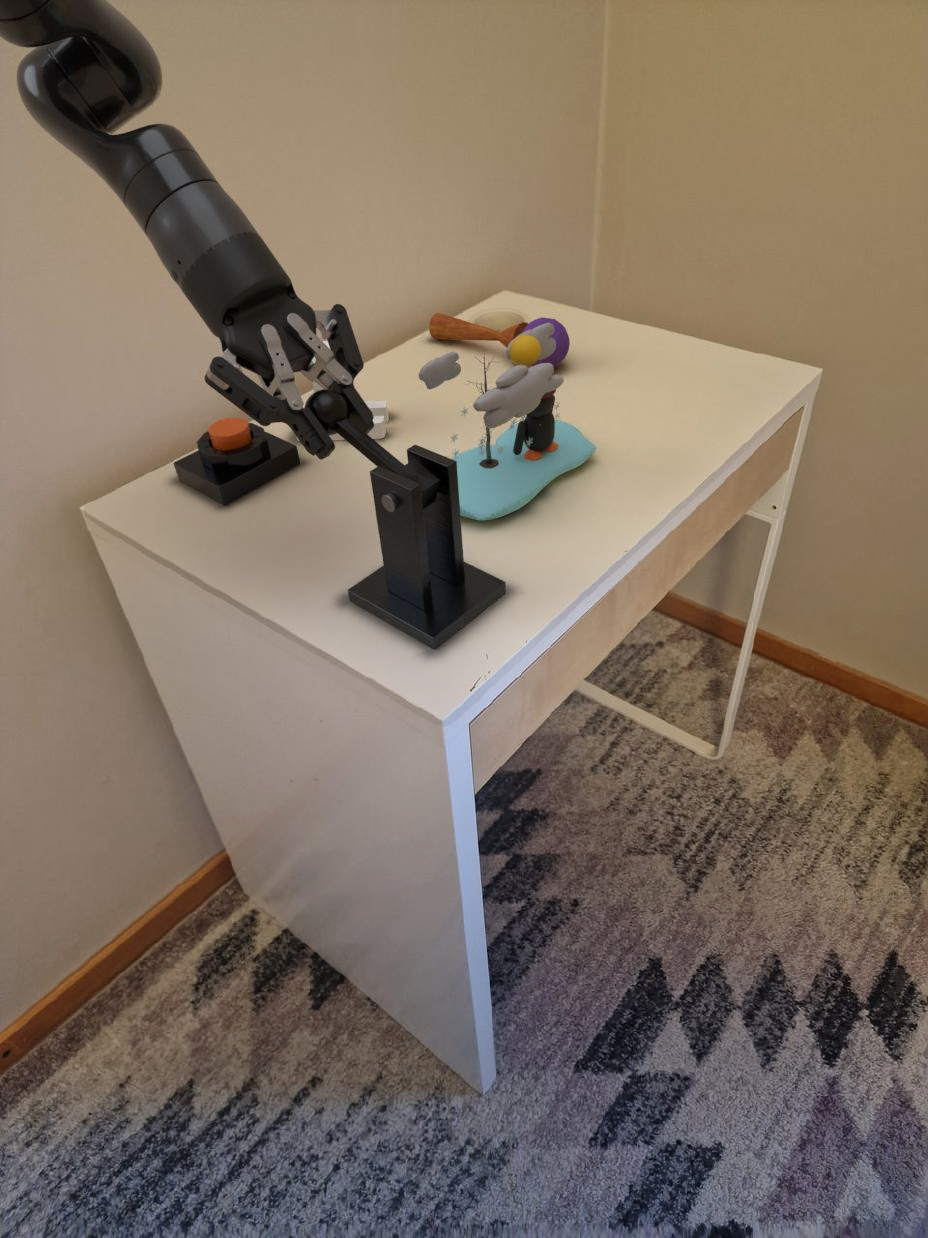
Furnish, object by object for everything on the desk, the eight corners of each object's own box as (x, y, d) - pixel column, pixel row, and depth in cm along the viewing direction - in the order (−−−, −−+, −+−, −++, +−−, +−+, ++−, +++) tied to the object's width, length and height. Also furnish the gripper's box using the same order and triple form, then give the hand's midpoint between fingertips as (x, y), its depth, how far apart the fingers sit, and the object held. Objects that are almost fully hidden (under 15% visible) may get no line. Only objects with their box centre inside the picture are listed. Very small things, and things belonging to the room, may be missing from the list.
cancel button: (228, 455, 86) (224, 440, 84) (204, 444, 88) (200, 428, 87) (259, 439, 88) (256, 424, 87) (235, 428, 90) (232, 413, 89)
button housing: (224, 506, 85) (214, 471, 83) (178, 480, 90) (167, 447, 87) (300, 463, 91) (293, 430, 88) (254, 441, 95) (246, 409, 92)
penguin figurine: (538, 424, 94) (538, 285, 84) (616, 456, 88) (625, 311, 78) (403, 501, 84) (385, 354, 74) (481, 542, 78) (472, 388, 68)
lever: (293, 425, 69) (295, 390, 66) (326, 408, 71) (329, 373, 68) (408, 523, 66) (415, 491, 63) (440, 502, 68) (448, 470, 65)
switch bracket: (349, 600, 73) (324, 470, 65) (421, 550, 78) (407, 423, 69) (434, 649, 68) (420, 515, 59) (506, 592, 73) (502, 461, 64)
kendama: (451, 299, 113) (580, 317, 102) (451, 345, 116) (576, 367, 105) (421, 305, 109) (552, 324, 98) (422, 353, 112) (549, 377, 101)
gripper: (150, 259, 60) (295, 461, 62) (303, 206, 68) (429, 387, 69) (134, 318, 66) (266, 500, 68) (275, 263, 74) (391, 427, 76)
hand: (347, 441), depth 69 cm, fingers closed on lever, 3 cm apart
